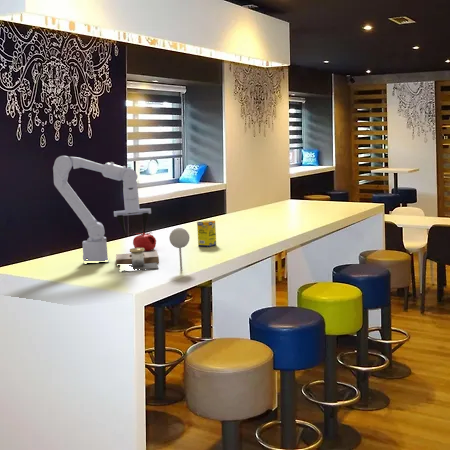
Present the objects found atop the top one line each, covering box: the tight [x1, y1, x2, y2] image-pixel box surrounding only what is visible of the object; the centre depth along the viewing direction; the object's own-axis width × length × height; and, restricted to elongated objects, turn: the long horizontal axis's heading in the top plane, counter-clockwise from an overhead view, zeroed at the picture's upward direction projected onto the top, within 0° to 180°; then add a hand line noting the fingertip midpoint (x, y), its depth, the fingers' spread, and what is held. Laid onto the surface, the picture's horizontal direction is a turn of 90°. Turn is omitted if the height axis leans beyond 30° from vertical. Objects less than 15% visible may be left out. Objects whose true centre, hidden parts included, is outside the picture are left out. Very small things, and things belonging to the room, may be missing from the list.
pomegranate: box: [132, 231, 157, 252], centre depth 264 cm, size 10×10×9 cm
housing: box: [115, 250, 160, 264], centre depth 238 cm, size 16×12×2 cm
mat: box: [129, 263, 159, 271], centre depth 226 cm, size 14×10×1 cm
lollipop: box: [169, 227, 190, 271], centre depth 218 cm, size 7×7×15 cm
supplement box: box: [196, 220, 217, 248], centre depth 267 cm, size 6×6×11 cm
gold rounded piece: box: [129, 247, 146, 268], centre depth 225 cm, size 5×5×6 cm
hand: (134, 233), depth 243 cm, fingers open, 7 cm apart
